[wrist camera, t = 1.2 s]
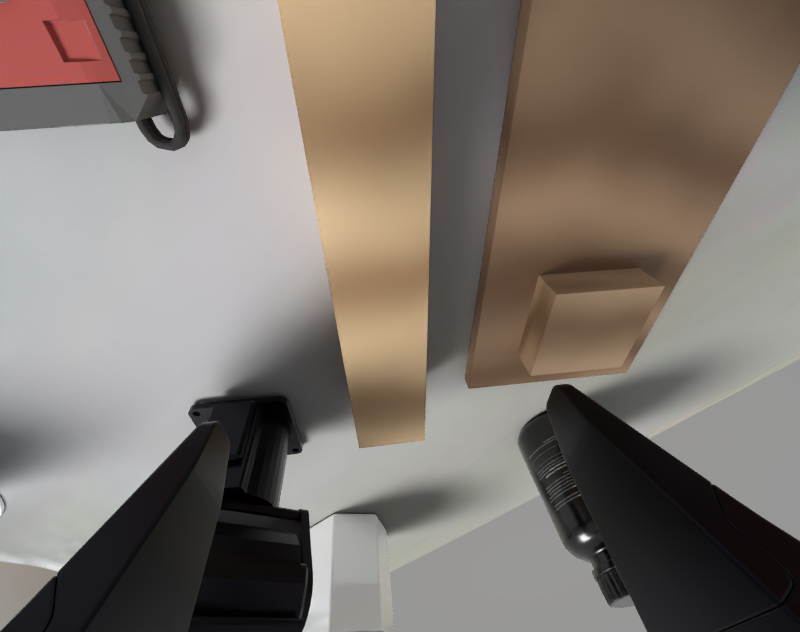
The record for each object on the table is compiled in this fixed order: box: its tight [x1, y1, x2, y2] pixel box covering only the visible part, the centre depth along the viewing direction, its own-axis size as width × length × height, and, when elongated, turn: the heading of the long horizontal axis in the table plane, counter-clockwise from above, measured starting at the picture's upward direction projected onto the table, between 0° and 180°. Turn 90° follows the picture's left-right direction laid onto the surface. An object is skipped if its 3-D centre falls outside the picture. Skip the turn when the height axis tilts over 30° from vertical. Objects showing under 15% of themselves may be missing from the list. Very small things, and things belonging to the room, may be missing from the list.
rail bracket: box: [465, 0, 800, 389], centre depth 14 cm, size 30×12×6 cm, turn 1°
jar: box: [302, 514, 394, 632], centre depth 33 cm, size 9×8×12 cm
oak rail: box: [277, 0, 436, 448], centre depth 16 cm, size 22×4×5 cm, turn 2°
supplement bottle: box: [518, 413, 635, 608], centre depth 25 cm, size 7×7×12 cm
